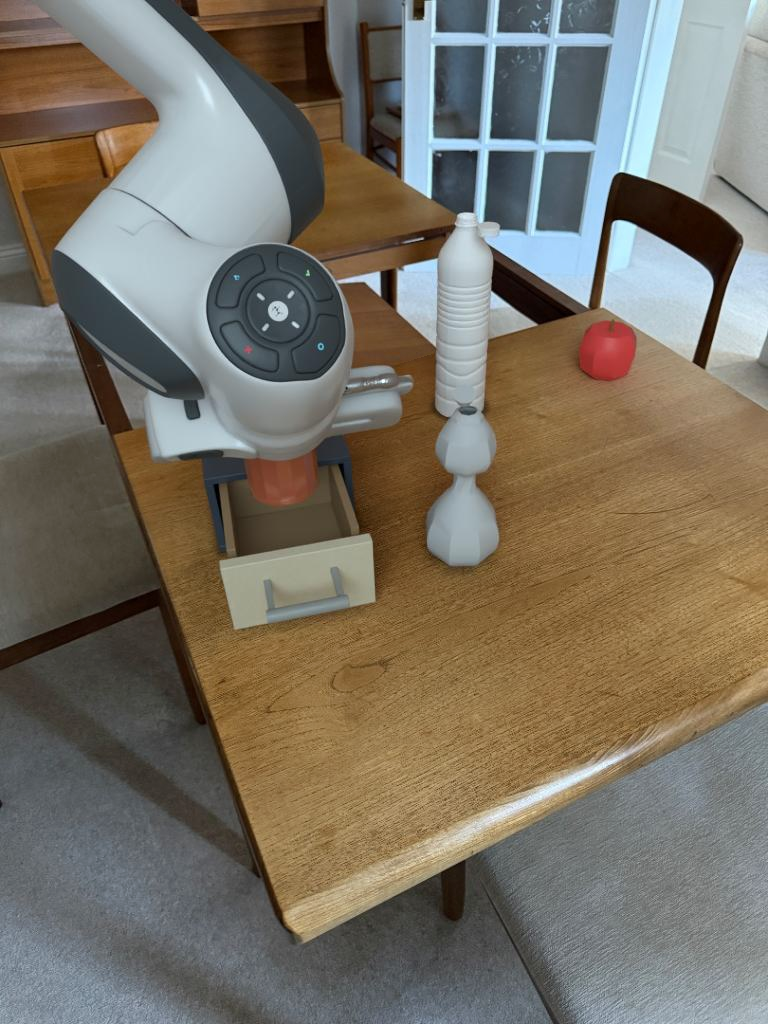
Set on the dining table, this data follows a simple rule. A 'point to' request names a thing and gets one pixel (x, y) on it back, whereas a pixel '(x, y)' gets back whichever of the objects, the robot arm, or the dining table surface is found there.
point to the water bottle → (463, 311)
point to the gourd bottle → (463, 488)
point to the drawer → (294, 554)
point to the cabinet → (234, 469)
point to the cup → (283, 479)
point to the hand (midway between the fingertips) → (276, 436)
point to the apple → (607, 350)
